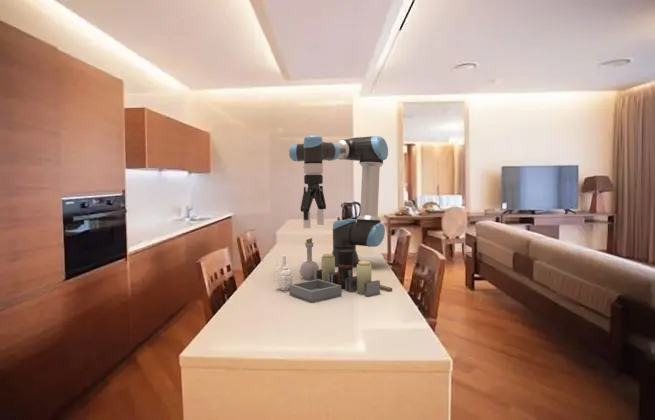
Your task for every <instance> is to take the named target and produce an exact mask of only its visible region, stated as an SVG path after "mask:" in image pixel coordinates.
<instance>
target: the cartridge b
mask: <svg viewBox="0 0 655 420" xmlns="http://www.w3.org/2000/svg"><path fill="white" fill-rule="evenodd" d="M356 276H357V291H356V293H357V294H359V295H364V296H365V283H367V282H372V264H371V262H370V261H368V260H359V262H358V264H357V266H356Z"/></svg>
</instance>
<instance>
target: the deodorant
mask: <svg viewBox="0 0 655 420" xmlns="http://www.w3.org/2000/svg"><path fill="white" fill-rule="evenodd" d="M353 269H354V267H353V251H352V250H338V267H337V272H338V285H341V290H345V278H348V277H353V275H354V274H353V273H354V272H353V271H354V270H353Z"/></svg>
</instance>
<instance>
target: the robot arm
mask: <svg viewBox="0 0 655 420" xmlns="http://www.w3.org/2000/svg"><path fill="white" fill-rule="evenodd" d="M288 149H289V150H288V152H289V154H288V155H289V158H290V159H291V160H292V161H293V162H303V164H304V165H303V173H304V174H305V175H304V177H303V184H305V185H307V186H303V192H302V193H303V194H302V198H301V199H302V200H301V203H300V204H301V205H300V212H302V213H303V218H302V219H303V222H302V223H303V229H311V226H312V225H311V211H310V209H311V206H312V204H313V201H315V204H316V207H317V209H316V225H317V226H324V225H325V223H324V222H325V218H324V217H325V213H324V211H325V210H326V209H327V204H326V199H325V195H324V186H323V185H322V184H323V183H324V177H323V175H322V174H323V172H324V170H323V169H324V168H323V167H324V166H323V161H328V162H329V161H331V162H332V161H335V160H337V159H338V160H340V161H341V160H347V161H355V162H359V163H358V164H359V165H360V166H361V167H362V168H361V191H360V209H359V212H360V213H359V215H358V217H357V218H356V219H355V218H350V219H349V218H347V219H341V220H334V222H333V224H332V252H331V254H333V256H334V257H335V268H336V267H337V268H338V250H352V251H353V268H354V267H357V264H358V262H359V261H360V259H359V256H358V252H357V250H356V248H357V246H361V247H369V248H370V247H374V248H376V247H378V246H380V245H382V244H381V243H382V242H383V240H384V238H385V233H386V232H385V231H386V229H385V225H384V224H383V223H382V222H381V220H382V219H381V218H380V217H379V196H380V195H379V190H380V170H381V167H382V166H383V165H384V161H385V160H387V158H388V156H389V148H388V143H387V141H386V140H385V138H384V137H382V136H376V135H371V136H358V137H351V138H348V139H339V140H337V141H336V142H327V141H326V142H325V141H323V136H321V135H306V136H304V137H303V143H297V144H292V145H290V147H289V148H288Z"/></svg>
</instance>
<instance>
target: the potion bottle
mask: <svg viewBox="0 0 655 420" xmlns="http://www.w3.org/2000/svg"><path fill="white" fill-rule="evenodd" d="M305 241H306V242H304V244H305V247H306V261H304V262H302V264H301V265H300V269H299V274H300V277H302V278H301V280H305V281H312V280H315V270H319V269H320V267H319V265H318V263H317V262H316V261H313V253H312V252H313V249H312V248H313V247H314V242H313V237H311V238H308V239H306V240H305Z"/></svg>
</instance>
